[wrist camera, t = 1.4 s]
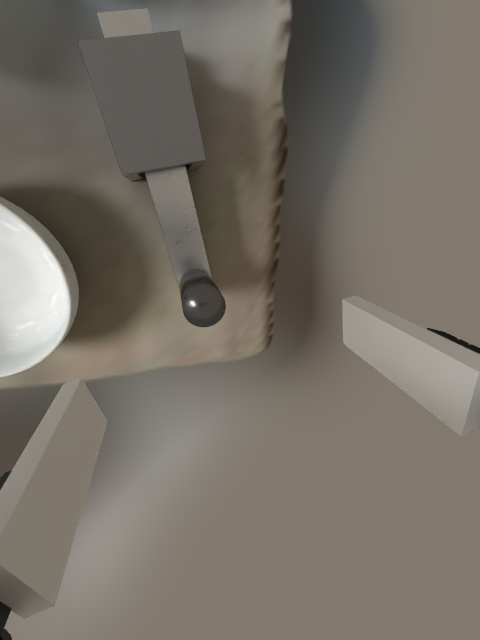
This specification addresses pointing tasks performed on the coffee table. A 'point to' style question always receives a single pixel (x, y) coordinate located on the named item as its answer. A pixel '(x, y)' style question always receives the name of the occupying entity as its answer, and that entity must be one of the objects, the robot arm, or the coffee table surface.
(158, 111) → the sleeve
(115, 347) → the coffee table surface
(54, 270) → the cereal bowl
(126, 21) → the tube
